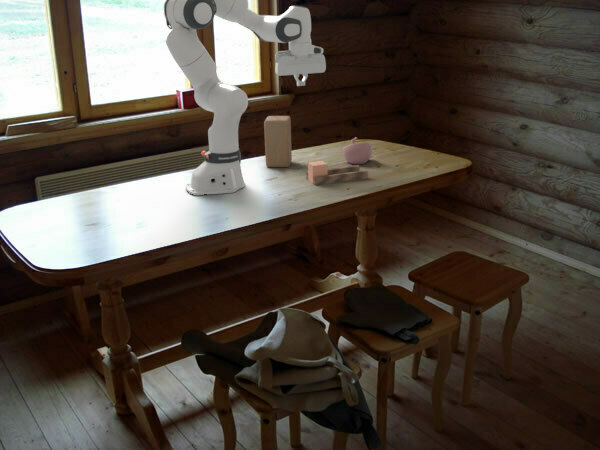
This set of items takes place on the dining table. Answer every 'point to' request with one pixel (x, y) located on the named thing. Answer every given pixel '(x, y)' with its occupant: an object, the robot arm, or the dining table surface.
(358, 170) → the chute
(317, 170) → the block
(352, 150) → the mortar and pestle
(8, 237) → the dining table surface
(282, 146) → the wooden block
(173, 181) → the dining table surface
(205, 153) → the robot arm
